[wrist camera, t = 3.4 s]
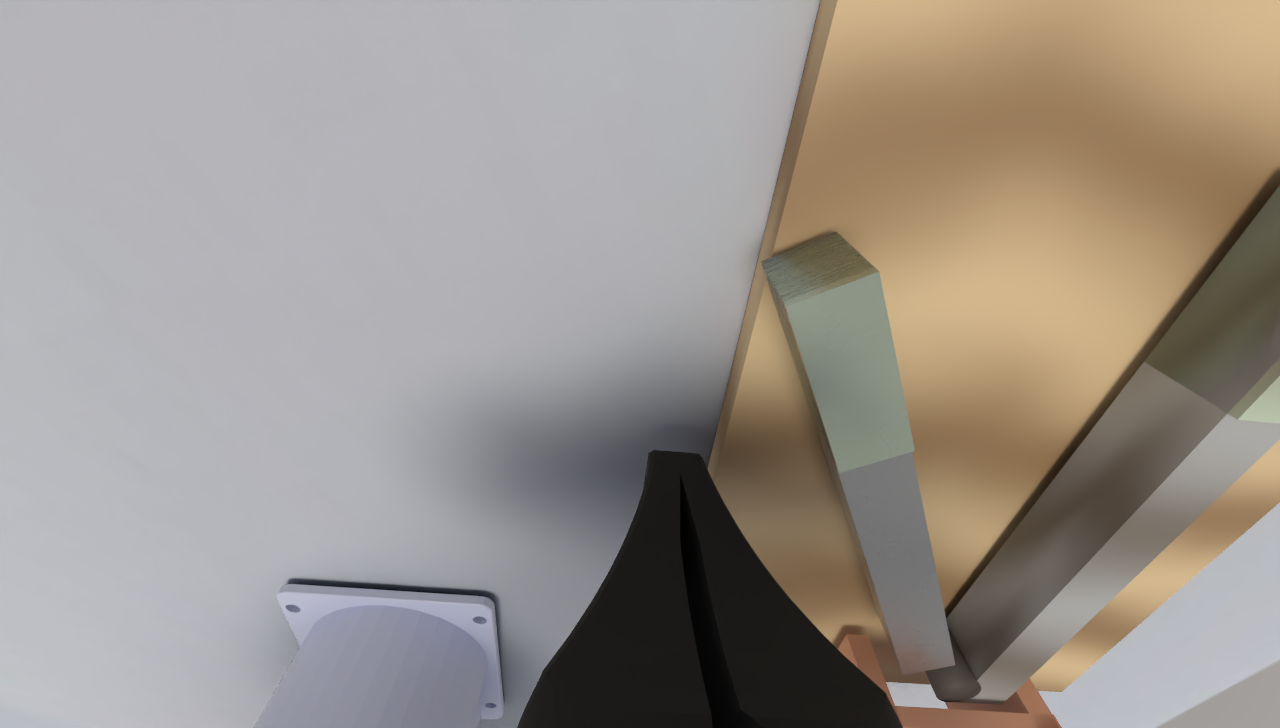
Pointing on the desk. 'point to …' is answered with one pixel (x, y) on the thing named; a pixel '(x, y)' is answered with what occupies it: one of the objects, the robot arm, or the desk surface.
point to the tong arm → (864, 434)
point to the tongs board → (1031, 314)
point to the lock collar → (1014, 724)
